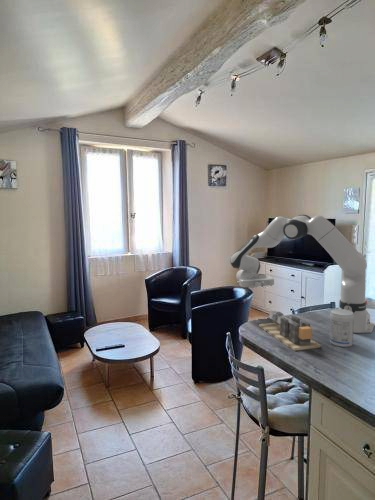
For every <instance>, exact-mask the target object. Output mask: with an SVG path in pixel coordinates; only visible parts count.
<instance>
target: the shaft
mask: <svg viewBox="0 0 375 500" xmlns="http://www.w3.org/2000/svg"><path fill="white" fill-rule="evenodd" d="M268 317H269V319H270V320H272V323H276V324H280V318H283V317H284V318H286V319H288V329H289V330H290V323H295V324H297V325H298V331H299V323H297V322H295V321H293V320H292V318H289V317H287V316H285V315H284V314H283V313H282V312H281V311H276V310H271V311H269V314H268Z"/></svg>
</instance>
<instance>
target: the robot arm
mask: <svg viewBox="0 0 375 500" xmlns="http://www.w3.org/2000/svg"><path fill="white" fill-rule="evenodd" d="M307 235H309V236H312V237H313V238H314V239H315V241H317V243H319V244H320V245H321V247H322V248H324V250H325V251H326V252H327V253H328V254H329V256H330V257H331V258H332V260H333V261H334V262H335V263H336V264H337V265H338V266H339V268H340V269H341V271H340V272H341V274H340V276H341V277H340V279H341V280H340V299H339V303H338V305H339V306H338V309H345V310H349V311H352V312H353V316H354V325H353V334H354V333H355V334H357V333H359V334H362V333H368V334H370V333H371V334H372V333H373V331H374V329H375V322H372V321H371V314H370V313H369V311H368V310H367V304H368V301H367V300H366V269H367V267H368V265H367V263H368V262H367V260H366V257H365V256H364V254H362V253H361V252H359V251H358V249H356V248H355V246H354V245H352V243H351V242H350V241H349V240H348V239H347V238H346V237H345V236H344V235H343V233H341V232H340V230H338V228H337V227H336V226H335V225H334V224H333V223H332V222H331V221H330V220H328V219H327V218H325V217H324V216H323V215H319V214H318V215H314V216H312V217H311V216H309V215H308V214H307V215H306V214H299V215H296V216H293V217H291V218H290V219H287V218H286V217H284V216H281V215H280V216H276V217H275V218H274V219H272V221H271V222H270V223H269V224H268V225H267V226H266V228H265V229H264V230H263V231H262V232H261V231H260V233H257V234H254V235H252V236H251V237H250V238H249V239H248V240H247V241H246V242H245V243H244V244H243V245H242V246H241V247H240V248H238V250H237V251H235V252H234V253H233V254H232V255H231V257H230V260H229V262H230V265H231V267H232V268H234V269H237V272H236V275H235V277H236V280H237V281H236V283H237V284H238V285H239V286H240V287H242V288H250V289H255V288H258V287H265V286H274V285H275V279H274V278H273V277H271V276H269V275H266V274H264V273H259V272H260V269H261V261H260V260H259V259H258V258H256V257H253V256H251V255H249V253H250V252H251V251H252V250H253V249H258V248H261V249H262V248H267V249H272V248H274V247H276V246H277V245H279V244H280V243H281V242H282V240H283V239H284V238H285V237H286V238H287V239H289V240H298V239H301V238H303V237H305V236H307Z"/></svg>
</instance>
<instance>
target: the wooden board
mask: <svg viewBox="0 0 375 500" xmlns="http://www.w3.org/2000/svg"><path fill="white" fill-rule="evenodd" d="M291 320H293V321H295V322H297V323H299V327H306V326H309V327H310V328H311V323H309V322H307V321H305V320H304V321H303V320H302V321H301V318H299V317H297V316H295V315H293V316H291ZM300 321H301V323H300ZM300 325H301V326H300ZM258 327H259V328H261V329H262V330H263V329H264V330H263V331H265V332H266V331H267V332H266V333H268V334H269V335H270V336H272V337H273V338H274V339H276V340H278V341H280V343H282V344H283V345H285V346H287V347H288V348H289V349H291V350H292V351H303V350H311V349H317V348H321V344H320V343H318V342H317V341H315V340H314V339H304V340H302V339H300V338H299V331H298V325H297V324H295V323H290V330H289V329H288V319H286V318H284V317H283V318H280V324H276V323H275V322H269V323H259V324H258Z"/></svg>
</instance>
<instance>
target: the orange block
mask: <svg viewBox="0 0 375 500" xmlns="http://www.w3.org/2000/svg"><path fill="white" fill-rule="evenodd" d="M312 332H313V328H312V327H311V326H310V327H309V326H306V327H301V326H300V327H299V338H300V339H302V340H304V339H311V340H313V337H312V336H313V335H312V334H313V333H312Z"/></svg>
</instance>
